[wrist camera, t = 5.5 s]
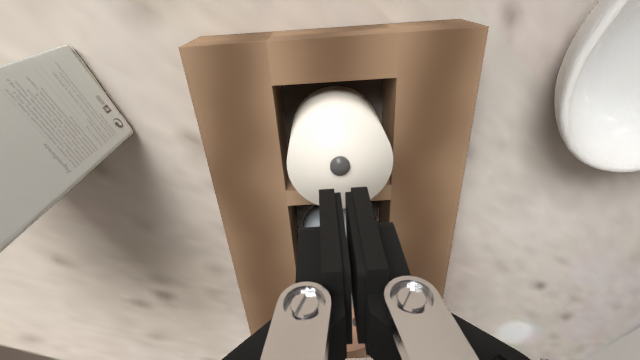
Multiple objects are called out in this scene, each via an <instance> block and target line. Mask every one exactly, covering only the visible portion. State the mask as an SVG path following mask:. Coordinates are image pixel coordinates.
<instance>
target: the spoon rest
mask: <svg viewBox="0 0 640 360" xmlns="http://www.w3.org/2000/svg"><path fill="white" fill-rule="evenodd" d="M554 106H555V116H556V122H557V125H558V129H559V132H560V135H561V137H562V140H563V142H564V143H565V145H566V147H567V148H568V150H569V151H570V152H571V153H572V154H573V155H574V156H575V157H576V158H577V159H578V160H580V161H581V162H583V163H585V164H586V165H588V166H590V167H593V168H595V169H599V170H603V171H609V172H635V171H640V0H600V1H599V2H598V3H597V4H596V6H595V7H594V8H593V9H592V11H591V12H590V13H589V15H588V16H587V18H586V19H585V20H584V22H583V23H582V25H581V26H580V28H579V29H578V31H577V33H576V34H575V36H574V38H573V40H572V42H571V43H570V45H569V47H568V49H567V51H566V54H565V56H564V58H563V61H562V64H561V67H560V70H559V73H558V76H557V81H556V86H555V103H554Z"/></svg>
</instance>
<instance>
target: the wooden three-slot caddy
mask: <svg viewBox="0 0 640 360" xmlns="http://www.w3.org/2000/svg"><path fill="white" fill-rule="evenodd" d="M488 28H489V27H488V26H485V25H481V24H477V23H474V22H470V21H466V20H462V19H452V20H437V21H422V22H408V23H393V24H378V25H364V26H349V27H334V28H319V29H305V30H290V31H275V32H261V33H246V34H231V35H217V36H202V37H199V38H197V39H195V40H193V41H191V42H189V43H187V44H185V45H183V46H181V47H179V51H180V55H181V59H182V63H183V67H184V71H185V75H186V79H187V83H188V87H189V91H190V95H191V99H192V103H193V106H194V110H195V114H196V118H197V122H198V126H199V130H200V134H201V138H202V142H203V146H204V150H205V154H206V158H207V162H208V166H209V170H210V174H211V178H212V182H213V186H214V190H215V194H216V197H217V201H218V205H219V209H220V213H221V217H222V221H223V225H224V229H225V233H226V237H227V241H228V245H229V249H230V253H231V257H232V261H233V265H234V269H235V273H236V277H237V281H238V284H239V288H240V292H241V296H242V300H243V304H244V308H245V312H246V316H247V320H248V324H249V328H250V332H251V335H252V334H254V333H255V332H256V331H257V330H259V329H260V328H261V327H262V326H263V325H265V324H266V323H267V322H268V321H270V320H271V319H272V318H273V315H274V311H275V308H276V304H277V301H278V299H279V297H280V295H281V293H282V292H283V291H284V290H285V289H286V288H288V287H289V286H291V285H293V284H295V279H296V262H297V245H298V229H297V221H296V213H295V205H309V204H314V203H312V202H310V201H308V200H307V199H305V198H304V197H303V196H302V195H300V194H299V192H298V191H297V190H296V189H295V188H294V186H293V185H292V183H291V181H290V178H289V175H288V171H287V154H288V145H287V137H286V128H285V120H284V112H283V103H282V95H281V86H280V85H292V84H307V83H323V82H338V81H353V80H369V79H384V80H383V112H382V127H383V129H384V131H385V134H386V136H387V138H388V140H389V142H390V145H391V148H392V152H393V168H392V172H391V175H390V177H389V180H388V181H387V183H386V185H385V186H384V187H383V189H382V190H381V191H380V192H379V193H378V194H377V195H376V196H374V197H373V198H372V199H370V200H371V201H378V200H380V209H379V223H383V222H393V224H394V226H395V229H396V232H397V235H398V238H399V241H400V244H401V247H402V250H403V253H404V256H405V259H406V262H407V265H408V268H409V271H410V274H411V276H414V277H419V278H421V279H424V280H426V281H428V282H429V283H430V284H432V285H433V286H434V287H435V289H436V290H437V291H438V293H439V294H440V296H441V297H442V299H443V293H444V287H445V281H446V275H447V269H448V264H449V258H450V252H451V246H452V240H453V234H454V228H455V222H456V216H457V211H458V205H459V199H460V193H461V187H462V181H463V175H464V169H465V163H466V157H467V152H468V146H469V140H470V134H471V128H472V122H473V116H474V110H475V104H476V99H477V93H478V87H479V81H480V75H481V69H482V63H483V57H484V51H485V45H486V40H487V34H488ZM362 357H370V356H369V355H366V349H365V347H364V348H361V349H359V350H355V351H349V352H347V358H362Z"/></svg>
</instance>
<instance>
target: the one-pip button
mask: <svg viewBox="0 0 640 360" xmlns="http://www.w3.org/2000/svg"><path fill="white" fill-rule="evenodd" d="M392 168H393V152H392V148H391V145H390V142H389V140H388V138H387V136H386V134H385V131H384V129H383V127H382V125H381V123H380V121H379V118H378V116H377V114H376V112H375V110H374V108H373V106H372V104H371V103H370V102H369V100H368V99H367V98H366V97H365V96H363V95H362V94H361V93H359V92H358V91H356V90H354V89H351V88H348V87H343V86H329V87H324V88H321V89H318V90H316V91H314V92H313V93H311V94H310V95H308V96H307V97H306V98H305V99H304V100H303V101H302V102H301V103H300V105H299V106H298V108H297V110H296V112H295V114H294V118H293V122H292V128H291V135H290V141H289V148H288V154H287V171H288V175H289V178H290V181H291V183H292V185H293V186H294V188H295V189H296V190H297V191H298V192H299V194H300V195H302V196H303V197H304V198H305V199H307V200H308V201H310V202H312V203H314V204H316V205H319V189H334V192H335V193H337V192H340V193H341V200H342V207H343V209H344V208H346V205H345V192H351V187H367V189H368V193H369V196H370V199H372V198H373V197H374V196H376V195H377V194H378V193H379V192H380V191H381V190H382V189H383V187H384V186H385V185H386V183H387V181H388V180H389V177H390V175H391V172H392Z"/></svg>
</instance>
